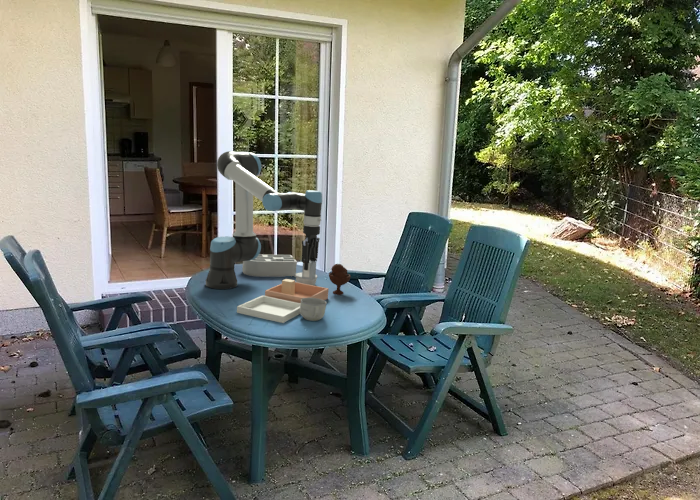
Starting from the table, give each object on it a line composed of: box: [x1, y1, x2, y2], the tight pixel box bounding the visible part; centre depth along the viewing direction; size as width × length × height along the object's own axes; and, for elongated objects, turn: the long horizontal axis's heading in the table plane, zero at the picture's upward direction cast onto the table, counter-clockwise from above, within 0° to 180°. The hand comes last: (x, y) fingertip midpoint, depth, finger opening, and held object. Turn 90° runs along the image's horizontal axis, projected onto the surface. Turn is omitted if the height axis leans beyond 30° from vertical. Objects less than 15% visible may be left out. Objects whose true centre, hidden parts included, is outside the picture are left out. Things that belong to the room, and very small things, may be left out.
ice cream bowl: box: [328, 263, 352, 296], centre depth 266 cm, size 11×11×15 cm
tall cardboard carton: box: [281, 278, 296, 296], centre depth 252 cm, size 5×4×8 cm
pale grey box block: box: [301, 260, 317, 280], centre depth 246 cm, size 5×4×8 cm
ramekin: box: [295, 272, 318, 286], centre depth 278 cm, size 11×11×5 cm
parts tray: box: [236, 295, 301, 324], centre depth 230 cm, size 22×20×3 cm
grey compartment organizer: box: [241, 254, 298, 278], centre depth 295 cm, size 17×28×9 cm, turn 108°
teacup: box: [299, 298, 328, 322], centre depth 224 cm, size 14×11×8 cm
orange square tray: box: [264, 281, 330, 303], centre depth 250 cm, size 22×22×5 cm
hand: (308, 275), depth 246 cm, fingers closed on pale grey box block, 4 cm apart
